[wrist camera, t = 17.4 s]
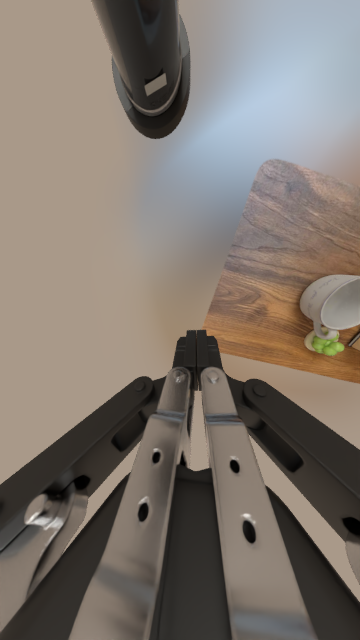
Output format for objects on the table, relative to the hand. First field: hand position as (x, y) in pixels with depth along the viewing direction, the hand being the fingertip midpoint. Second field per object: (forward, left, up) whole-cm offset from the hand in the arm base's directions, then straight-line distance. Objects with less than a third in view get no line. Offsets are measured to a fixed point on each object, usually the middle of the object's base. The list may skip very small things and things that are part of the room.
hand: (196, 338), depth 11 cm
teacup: (+17, +25, -25) cm, 39 cm away
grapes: (+29, +26, -25) cm, 46 cm away
